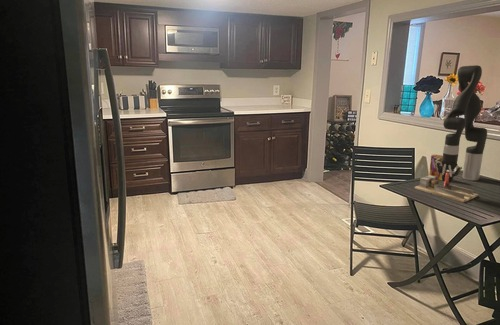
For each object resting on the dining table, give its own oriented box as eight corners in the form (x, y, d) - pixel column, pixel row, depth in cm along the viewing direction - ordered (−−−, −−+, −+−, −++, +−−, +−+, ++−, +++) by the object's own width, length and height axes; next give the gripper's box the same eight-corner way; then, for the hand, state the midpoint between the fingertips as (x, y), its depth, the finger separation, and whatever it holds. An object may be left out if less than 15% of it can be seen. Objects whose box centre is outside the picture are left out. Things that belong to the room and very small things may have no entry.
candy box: (445, 179, 227) (448, 156, 223) (442, 180, 224) (445, 157, 220) (431, 176, 233) (434, 153, 229) (428, 177, 231) (431, 155, 227)
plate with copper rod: (441, 186, 210) (443, 169, 207) (452, 189, 204) (454, 171, 201) (433, 189, 206) (436, 171, 203) (444, 192, 200) (447, 173, 197)
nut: (432, 185, 212) (433, 179, 211) (439, 187, 209) (440, 181, 208) (428, 187, 210) (429, 180, 209) (435, 188, 207) (436, 182, 206)
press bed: (429, 183, 220) (431, 173, 218) (477, 196, 197) (479, 185, 195) (414, 188, 211) (415, 178, 210) (463, 202, 189) (464, 191, 187)
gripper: (467, 153, 194) (463, 183, 198) (442, 149, 205) (438, 177, 210) (460, 156, 190) (456, 186, 194) (434, 151, 201) (431, 179, 206)
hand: (447, 181), depth 202 cm, fingers closed on plate with copper rod, 3 cm apart
